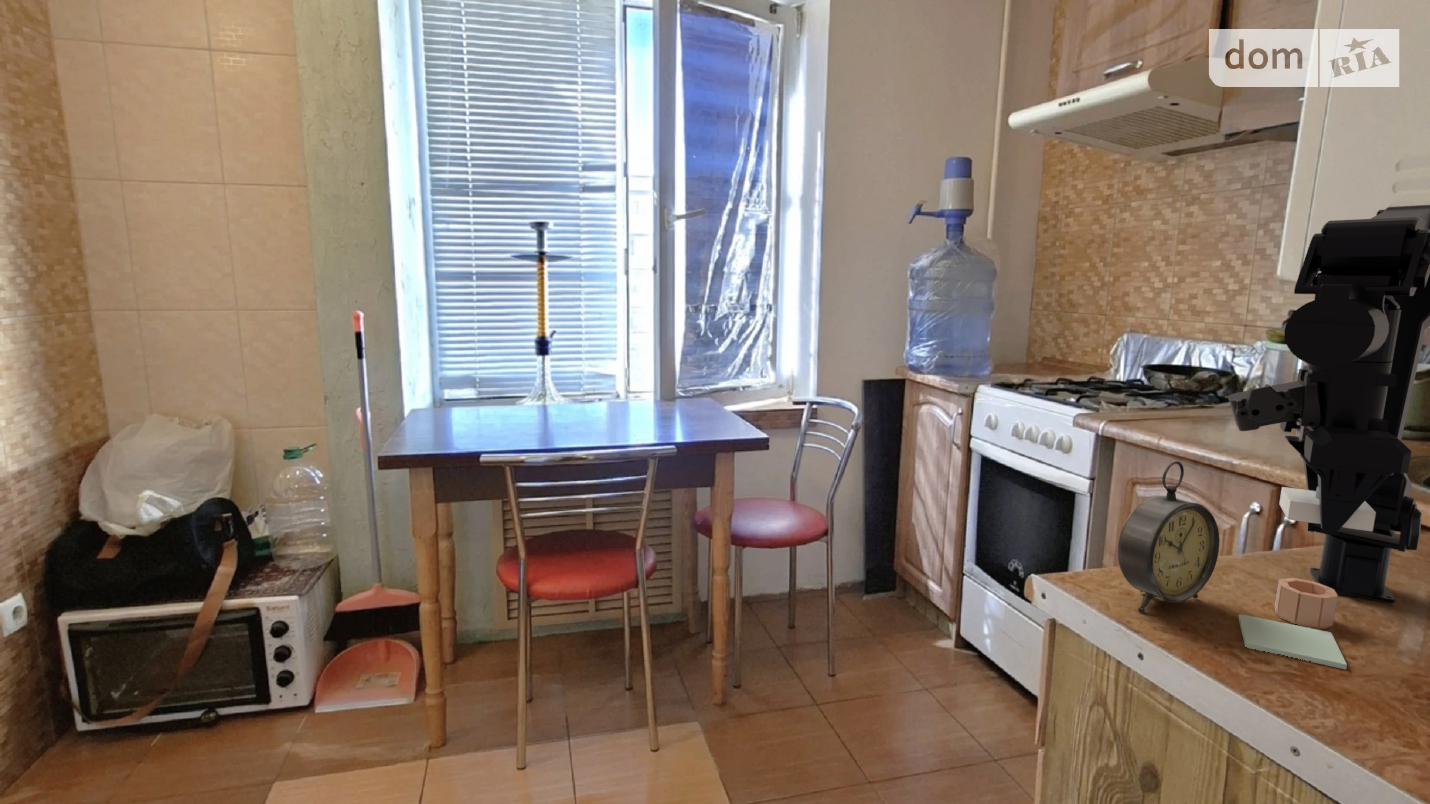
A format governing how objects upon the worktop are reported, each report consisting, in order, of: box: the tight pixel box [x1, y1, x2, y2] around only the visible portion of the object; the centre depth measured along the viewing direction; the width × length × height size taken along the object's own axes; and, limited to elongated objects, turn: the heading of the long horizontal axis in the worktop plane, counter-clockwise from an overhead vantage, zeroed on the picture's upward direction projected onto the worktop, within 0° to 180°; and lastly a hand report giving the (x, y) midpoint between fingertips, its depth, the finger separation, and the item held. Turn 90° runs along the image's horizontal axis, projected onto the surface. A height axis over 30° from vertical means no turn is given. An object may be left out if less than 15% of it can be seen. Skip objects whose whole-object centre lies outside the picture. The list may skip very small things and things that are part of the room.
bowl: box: [1274, 577, 1339, 630], centre depth 74 cm, size 5×5×4 cm
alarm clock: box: [1117, 460, 1220, 614], centre depth 77 cm, size 11×5×16 cm, turn 112°
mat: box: [1237, 613, 1348, 670], centre depth 70 cm, size 7×8×1 cm
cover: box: [1278, 486, 1376, 532], centre depth 67 cm, size 6×6×3 cm
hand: (1322, 522), depth 67 cm, fingers closed on cover, 5 cm apart
